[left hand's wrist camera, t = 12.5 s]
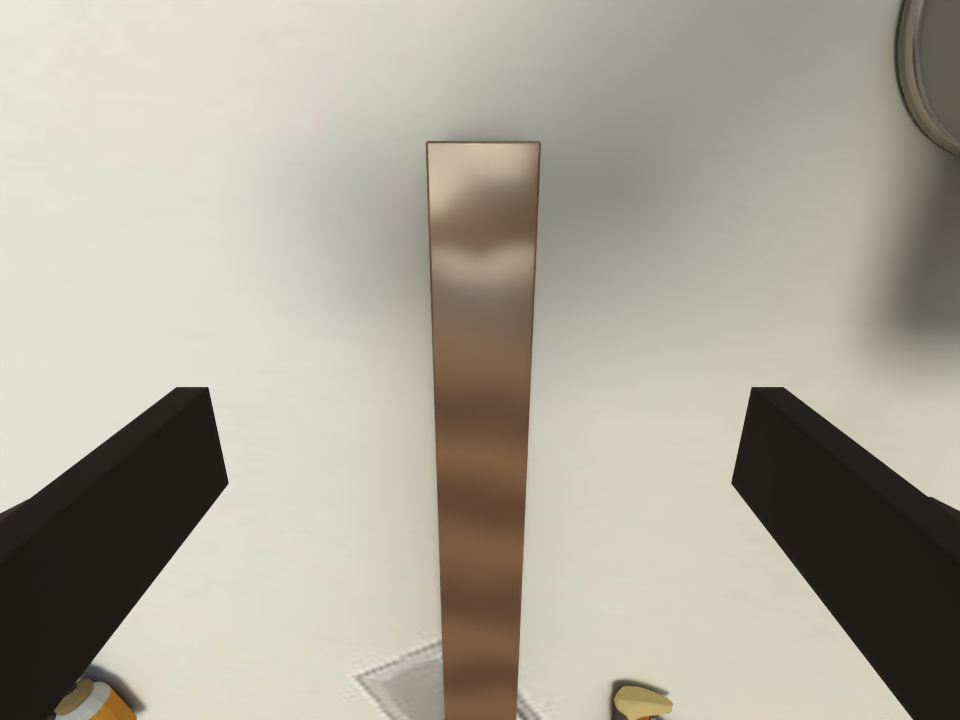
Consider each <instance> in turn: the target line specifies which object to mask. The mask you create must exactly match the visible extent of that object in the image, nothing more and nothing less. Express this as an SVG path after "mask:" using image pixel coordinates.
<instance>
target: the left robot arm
mask: <svg viewBox="0 0 960 720" xmlns="http://www.w3.org/2000/svg"><path fill="white" fill-rule="evenodd" d="M898 70H899V78H900V83H901V88H902V91H903V95H904V98H905V101H906V103H907V106H908V108H909V110H910V112H911V114H912V116H913V117H914V119H915V121H916V123H917V124H918V125H919V126H920V128H921V129H922V130H923V132H924V133H925V134H926V135H927V136H928V137H929V138H930V139H932V140H933V141H934V142H935V143H937V144H938V145H939V146H941V147H942V148H944V149H946V150H948V151H949V152H951V153H953V154H956V155H958V156H960V0H906V1H905V4H904V8H903V12H902V17H901V23H900V28H899V37H898ZM228 484H229V483H228V478H227V473H226V468H225V464H224V459H223V454H222V450H221V445H220V440H219V435H218V431H217V426H216V421H215V417H214V412H213V407H212V402H211V398H210V393H209V388H208V387H176V388H175V389H174V390H172V391H171V392H170V393H168V394H167V395H166V396H164V397H163V398H162V399H160V400H159V401H158V402H156V403H155V404H154V405H153V406H151V407H150V408H149V409H147V410H146V411H145V412H143V413H142V414H141V415H139V416H138V417H137V418H135V419H134V420H133V421H131V422H130V423H129V424H128V425H126V426H125V427H124V428H122V429H121V430H120V431H118V432H117V433H116V434H114V435H113V436H112V437H110V438H109V439H108V440H106V441H105V442H104V443H103V444H101V445H100V446H99V447H97V448H96V449H95V450H93V451H92V452H91V453H89V454H88V455H87V456H85V457H84V458H83V459H81V460H80V461H79V462H77V463H76V464H75V465H74V466H72V467H71V468H70V469H68V470H67V471H66V472H64V473H63V474H62V475H60V476H59V477H58V478H56V479H55V480H54V481H52V482H51V483H50V484H49V485H47V486H46V487H45V488H43V489H42V490H41V491H39V492H38V493H37V494H35V495H34V496H33V497H31V498H30V499H28V500H26V501H24V502H22V503H20V504H18V505H16V506H14V507H12V508H10V509H8V510H6V511H4V512H2V513H0V720H47V719H48V718H49V716H50V715H51V714H52V712H53V711H54V710H55V708H56V707H57V706H58V705H59V703H60V702H61V701H62V699H63V698H64V697H65V696H66V694H67V693H68V692H69V690H70V689H71V688H72V686H73V685H74V684H75V683H76V681H77V680H78V679H79V677H80V676H81V675H82V673H83V672H84V671H85V670H86V668H87V667H88V666H89V664H90V663H91V662H92V660H93V659H94V658H95V657H96V655H97V654H98V653H99V651H100V650H101V649H102V647H103V646H104V645H105V644H106V642H107V641H108V640H109V638H110V637H111V636H112V634H113V633H114V632H115V631H116V629H117V628H118V627H119V625H120V624H121V623H122V621H123V620H124V619H125V618H126V616H127V615H128V614H129V612H130V611H131V610H132V608H133V607H134V606H135V605H136V603H137V602H138V601H139V599H140V598H141V597H142V595H143V594H144V593H145V592H146V590H147V589H148V588H149V586H150V585H151V584H152V582H153V581H154V580H155V579H156V577H157V576H158V575H159V573H160V572H161V571H162V569H163V568H164V567H165V566H166V564H167V563H168V562H169V560H170V559H171V558H172V556H173V555H174V554H175V553H176V551H177V550H178V549H179V547H180V546H181V545H182V543H183V542H184V541H185V540H186V538H187V537H188V536H189V534H190V533H191V532H192V530H193V529H194V528H195V527H196V525H197V524H198V523H199V521H200V520H201V519H202V517H203V516H204V515H205V514H206V512H207V511H208V510H209V508H210V507H211V506H212V504H213V503H214V502H215V501H216V499H217V498H218V497H219V495H220V494H221V493H222V491H223V490H224V489H225V488H226V486H227V485H228ZM731 484H732V485H733V486H734V488H735V489H736V490H737V491H738V493H739V494H740V495H741V497H742V498H743V499H744V501H745V502H746V503H747V504H748V506H749V507H750V508H751V510H752V511H753V512H754V514H755V515H756V516H757V517H758V519H759V520H760V521H761V523H762V524H763V525H764V527H765V528H766V529H767V530H768V532H769V533H770V534H771V536H772V537H773V538H774V540H775V541H776V542H777V543H778V545H779V546H780V547H781V549H782V550H783V551H784V553H785V554H786V555H787V556H788V558H789V559H790V560H791V562H792V563H793V564H794V566H795V567H796V568H797V569H798V571H799V572H800V573H801V575H802V576H803V577H804V579H805V580H806V581H807V582H808V584H809V585H810V586H811V588H812V589H813V590H814V592H815V593H816V594H817V595H818V597H819V598H820V599H821V601H822V602H823V603H824V605H825V606H826V607H827V608H828V610H829V611H830V612H831V614H832V615H833V616H834V618H835V619H836V620H837V621H838V623H839V624H840V625H841V627H842V628H843V629H844V631H845V632H846V633H847V634H848V636H849V637H850V638H851V640H852V641H853V642H854V644H855V645H856V646H857V647H858V649H859V650H860V651H861V653H862V654H863V655H864V657H865V658H866V659H867V660H868V662H869V663H870V664H871V666H872V667H873V668H874V670H875V671H876V672H877V673H878V675H879V676H880V677H881V679H882V680H883V681H884V683H885V684H886V685H887V686H888V688H889V689H890V690H891V692H892V693H893V694H894V696H895V697H896V698H897V699H898V701H899V702H900V703H901V705H902V706H903V707H904V709H905V710H906V711H907V712H908V714H909V715H910V716H911V718H912V719H913V720H960V511H958V510H956V509H954V508H952V507H950V506H948V505H946V504H944V503H942V502H940V501H938V500H936V499H935V498H933V497H927V496H926V495H925V494H923V493H922V492H921V491H919V490H918V489H917V488H915V487H914V486H913V485H911V484H910V483H909V482H908V481H906V480H905V479H904V478H902V477H901V476H900V475H898V474H897V473H896V472H894V471H893V470H892V469H890V468H889V467H888V466H886V465H885V464H884V463H883V462H881V461H880V460H879V459H877V458H876V457H875V456H873V455H872V454H871V453H869V452H868V451H867V450H865V449H864V448H863V447H861V446H860V445H859V444H857V443H856V442H855V441H854V440H852V439H851V438H850V437H848V436H847V435H846V434H844V433H843V432H842V431H840V430H839V429H838V428H836V427H835V426H834V425H832V424H831V423H830V422H829V421H827V420H826V419H825V418H823V417H822V416H821V415H819V414H818V413H817V412H815V411H814V410H813V409H811V408H810V407H809V406H807V405H806V404H805V403H804V402H802V401H801V400H800V399H798V398H797V397H796V396H794V395H793V394H792V393H790V392H789V391H788V390H786V389H785V388H784V387H752V388H751V393H750V398H749V402H748V407H747V412H746V417H745V421H744V426H743V431H742V435H741V440H740V445H739V450H738V454H737V459H736V464H735V468H734V473H733V478H732V483H731Z"/></svg>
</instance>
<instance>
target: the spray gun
mask: <svg viewBox="0 0 960 720" xmlns="http://www.w3.org/2000/svg"><path fill="white" fill-rule="evenodd" d="M47 720H137V717H136V715H135V714H134V712H133V711H132V710H131V709H130V708H129V707H128V706H127V705H126V703H125V702H124V701H123V700H122V699H121V698H120V697H119V696H118V695H117V694H116V692H115V691H114V690H113V689H112V688H111V687H110V686H109V685H108V684H106V683H104V682H93V683H92V681H91V680H90V679H83V680H81V681H78V682H77V683H75V684H74V685H73V686H72V688H71V689H70V690H69V692H68V693H67V694H66V696H65V697H64V698H63V699H62V701H61V702H60V703H59V705H58V706H57V707H56V708H55V710H54V711H53V712H52V714H51V715H50V716H49V718H48V719H47Z"/></svg>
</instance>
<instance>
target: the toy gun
mask: <svg viewBox="0 0 960 720" xmlns="http://www.w3.org/2000/svg"><path fill="white" fill-rule="evenodd" d="M614 703H615V707H614V712H613V720H651V719H652V718H653V717H654V716H655V715H662V714H667V713H670V712H671V711H672V705H673V703H672V702H671V701H670V700H669V699H668V698H666V697H664V696H662V695H660V694H658V693H655V692H653V691H650V690H648V689H645V688H641V687H635V686H623V687H622V688H621V689H620V690H619V691H618V692H617V694H616V696H615V698H614Z"/></svg>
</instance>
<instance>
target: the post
mask: <svg viewBox="0 0 960 720" xmlns="http://www.w3.org/2000/svg"><path fill="white" fill-rule="evenodd" d="M540 150H541V143H540V142H539V141H427V142H426V161H427V191H428V222H429V253H430V283H431V314H432V345H433V375H434V406H435V437H436V467H437V498H438V529H439V559H440V590H441V621H442V651H443V682H444V713H445V720H516V712H517V688H518V665H519V642H520V618H521V595H522V571H523V548H524V525H525V501H526V478H527V454H528V431H529V408H530V384H531V361H532V337H533V314H534V291H535V267H536V244H537V220H538V197H539V174H540Z"/></svg>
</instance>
